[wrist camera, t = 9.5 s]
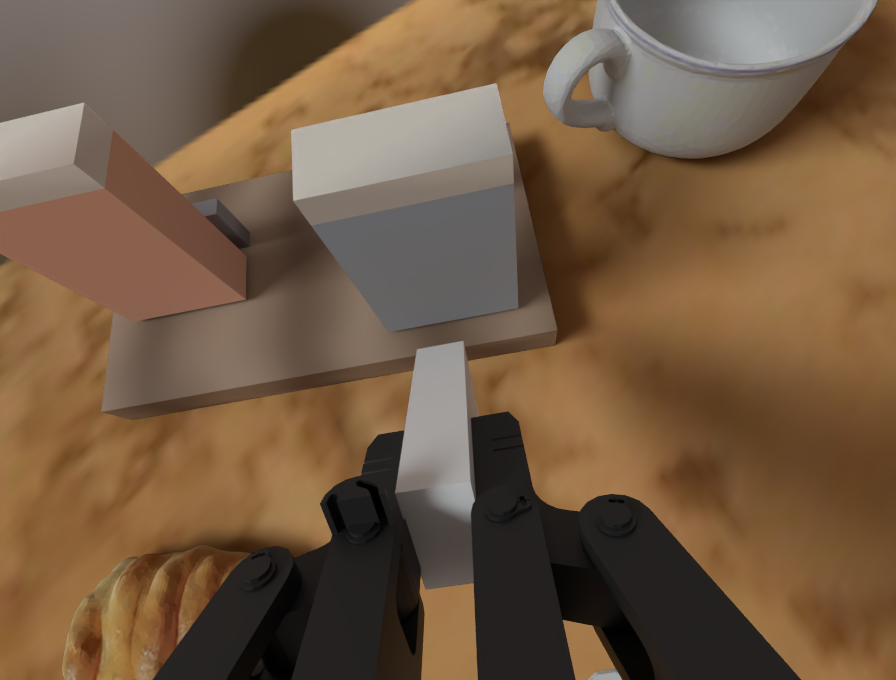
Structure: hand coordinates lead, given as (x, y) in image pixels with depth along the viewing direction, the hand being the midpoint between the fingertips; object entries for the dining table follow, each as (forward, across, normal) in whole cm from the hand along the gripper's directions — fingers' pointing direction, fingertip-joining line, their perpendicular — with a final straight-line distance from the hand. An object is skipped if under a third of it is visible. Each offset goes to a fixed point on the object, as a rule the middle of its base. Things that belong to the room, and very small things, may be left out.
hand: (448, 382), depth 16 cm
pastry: (+1, -13, -10) cm, 17 cm away
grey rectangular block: (+8, 0, 0) cm, 8 cm away
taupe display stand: (+12, -6, +1) cm, 14 cm away
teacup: (+16, +12, +5) cm, 21 cm away
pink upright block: (+10, -13, +3) cm, 17 cm away
